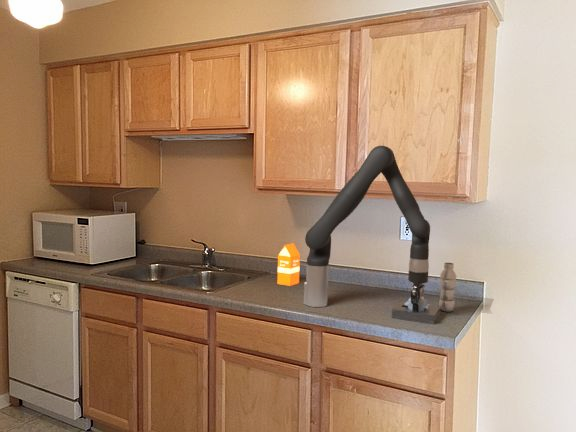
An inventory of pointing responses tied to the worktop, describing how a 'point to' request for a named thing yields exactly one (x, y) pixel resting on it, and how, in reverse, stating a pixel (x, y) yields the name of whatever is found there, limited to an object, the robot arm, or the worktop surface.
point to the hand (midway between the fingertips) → (416, 312)
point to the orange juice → (288, 265)
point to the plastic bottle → (447, 288)
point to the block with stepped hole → (416, 313)
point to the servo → (421, 304)
